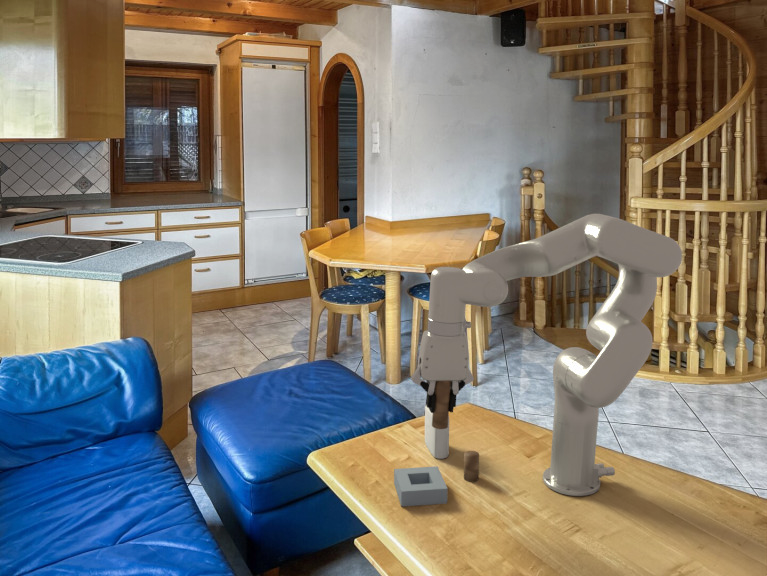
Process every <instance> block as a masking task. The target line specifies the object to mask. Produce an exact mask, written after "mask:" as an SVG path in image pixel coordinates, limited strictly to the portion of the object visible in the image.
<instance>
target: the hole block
mask: <svg viewBox="0 0 767 576" xmlns="http://www.w3.org/2000/svg"><path fill="white" fill-rule="evenodd" d="M393 469H394V470H393V471H394V472H393V485H394V488H395V490H396V495H397V496H398V500H399V501H398V502H399V503H400V507H414V506H427V505H429V506H430V505H443V504H448V487H447V484H446V482H445V480H444V478H443V475H442V473H441V471H440V469H439V466H436V465H435V466H422V467H408V468H407V467H405V468H393Z"/></svg>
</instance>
